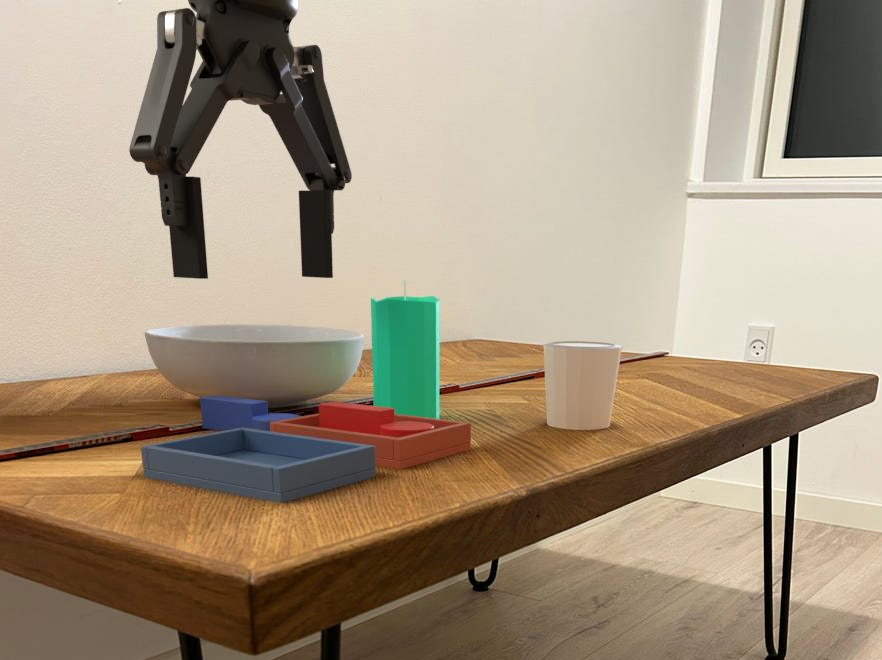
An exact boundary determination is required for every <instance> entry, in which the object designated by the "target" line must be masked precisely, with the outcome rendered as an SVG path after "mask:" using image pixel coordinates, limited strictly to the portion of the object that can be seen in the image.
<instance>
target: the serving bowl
mask: <svg viewBox="0 0 882 660" xmlns="http://www.w3.org/2000/svg"><path fill="white" fill-rule="evenodd" d="M144 338H145V342H146V345H147V346H146V347H147V349H148V352H149V355H150V357H151V360H152V362H153V364H154V365H155V367H156V369H157V370H158V372H159V373H160V374H161V376H162V377H163V378H164V379H165V380H167V382H168V383H170V384H171V385H172V386H173V387H175V388H177V389H179V390H180V391H182V392H184V393H187V394H189V395H192V396H194V397H198V398H200V397H207V396H214V395H218V396H226V397H234V398H243V399H251V400H260V401H267V408H268V409H275V408H276V409H277V408H289V407H295V406H300V405H303V404H305V403H307V402H308V401H310V400H314V399H318V398H321V397H324V396H327V395H329V394H332V393H335V392H336V391H338V390H339V389H341V388H343V387H344V386H345V385H346V384H348V382H349V381H350V380H351V379H352V377H354V375H355V374H356V372H357V370H358V368H359V365H360V363H361V359H362V357H363V351H364V350H363V349H364V341H365V336H364V334H363V333H361V332H358V331H353V330H349V329H343V328H333V327H323V326H308V325H307V326H306V325H291V324H290V325H287V324H246V323H245V324H197V325H195V324H194V325H177V326H166V327H165V326H164V327H157V328H151V329H148V330H145V332H144Z"/></svg>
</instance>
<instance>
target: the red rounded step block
mask: <svg viewBox="0 0 882 660" xmlns="http://www.w3.org/2000/svg"><path fill="white" fill-rule="evenodd" d="M318 414H319V424H320V428H328V429H335V430H343V431H351V432H358V433H366V434H373V435H381V436H389V437H396V438H400V437H404V436H408V435H412V434H417V433H421V432H425V431H429V430H433V429H434V425H432V424H429V423H425V422H414V421H399V422H395V421H394V408H387V407H378V406H373V405H368V404H361V403H352V402H351V403H350V402H342V401H334V400H333V401H327V402H322V403H318Z"/></svg>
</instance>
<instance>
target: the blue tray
mask: <svg viewBox="0 0 882 660" xmlns="http://www.w3.org/2000/svg"><path fill="white" fill-rule="evenodd" d="M140 453H141V462H142V468H143V469H142V470H143V471H142V472H143V478H145V479H151V480H156V481H160V482H165V483H166V482H168V483H173V484H176V485H177V484H178V485H183V486H189V487H193V488H198V489H204V490H209V491H214V492H221V493H225V494H226V493H227V494H231V495H236V496H242V497H245V498H246V497H248V498H252V499H256V500H257V499H259V500H263V501H269V502H273V503H279V504H283V503H286V502H291V501H294V500H298V499H300V498H305V497H309V496H311V495H315V494H319V493H323V492H326V491H329V490H333V489H336V488H340V487H343V486H347V485H351V484H354V483H358V482H360V481H365V480H368V479H372V478H375V477H376V475H377V473H376V472H377V471H376V470H377V469H376V466H375V446H372V445H365V444H358V443H351V442H343V441H336V440H329V439H322V438H315V437H307V436H300V435H293V434H286V433H278V432H271V431H264V430H257V429H250V428H237V429H231V430H226V431H216V432H209V433H205V434H204V433H203V434H199V435H193V436H188V437H182V438H177V439H171V440H167V441H160V442H155V443H149V444H143V445H140Z"/></svg>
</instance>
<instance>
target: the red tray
mask: <svg viewBox="0 0 882 660" xmlns="http://www.w3.org/2000/svg"><path fill="white" fill-rule="evenodd" d="M394 421H395V422H399V421H414V422H425V423H429V424H432V425H434V429H433V430H429V431H425V432H421V433H417V434H412V435H408V436H404V437H400V438H396V437H389V436H381V435H373V434H366V433H358V432H351V431H343V430H335V429H328V428H320V424H319V413H314V414H308V415H303V416H302V415H301V417H297V418H291V419H286V420H280V421H275V422H270V431H271V432H278V433H286V434H293V435H300V436H307V437H315V438H322V439H329V440H336V441H343V442H351V443H358V444H365V445H372V446H375V467H382V468H387V469H397V470H403V469H407V468H411V467H414V466H417V465H421V464H426V463H428V462H431V461H435V460H436V461H437V460H439V459H443V458H446V457H450V456H454V455H456V454H461V453H464V452H467V451H470V450H471V449H472V447H471V446H472V444H471V442H472V441H471V440H472V437H471V436H472V422H469V421H461V420H460V421H459V420H453V419H452V420H451V419H442V418H439V419H435V418H426V417H418V416H409V415H400V414H394Z"/></svg>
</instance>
